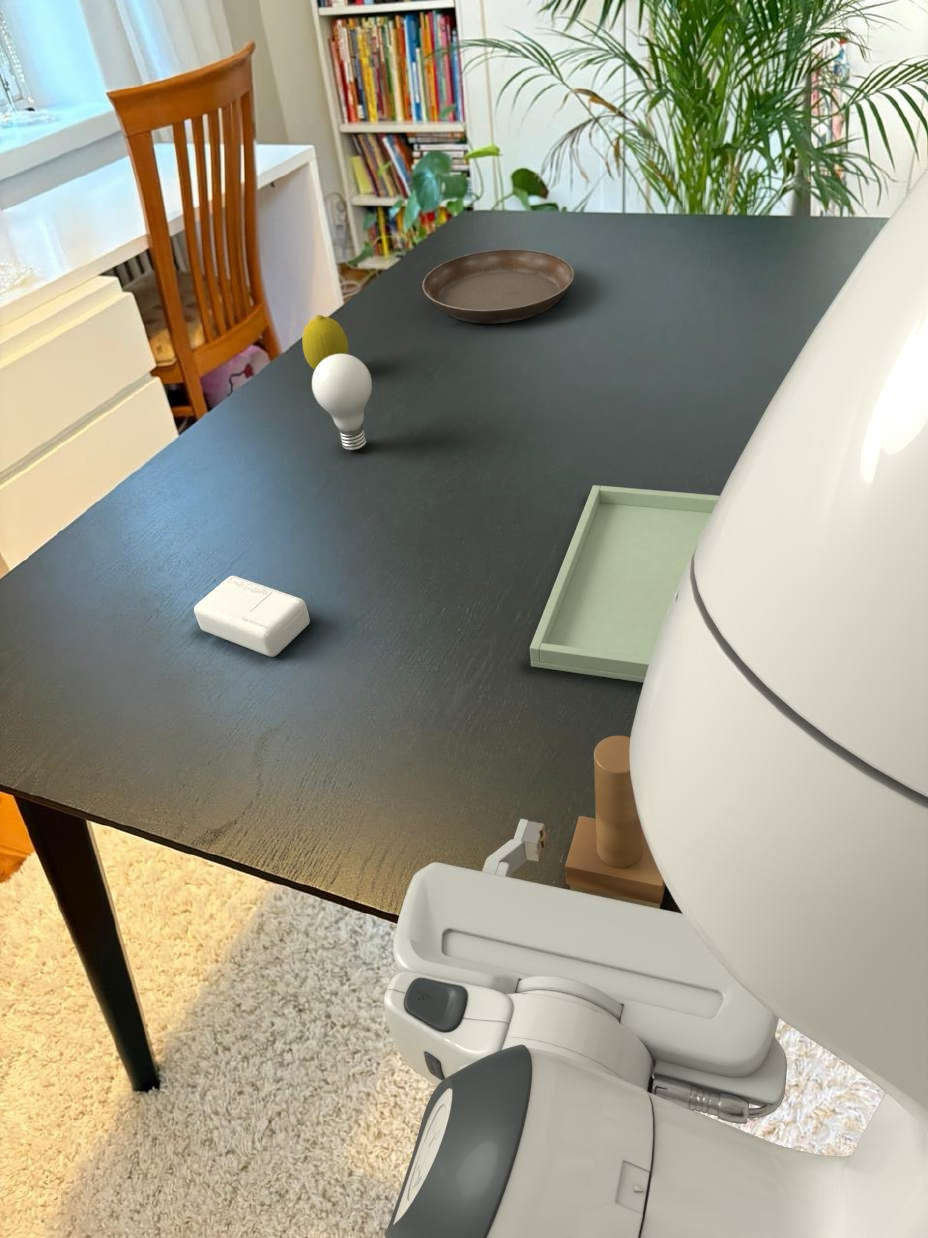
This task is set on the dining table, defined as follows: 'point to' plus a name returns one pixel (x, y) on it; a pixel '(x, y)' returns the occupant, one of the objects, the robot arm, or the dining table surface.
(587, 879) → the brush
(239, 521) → the dining table surface
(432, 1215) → the robot arm
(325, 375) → the lightbulb
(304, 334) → the lemon
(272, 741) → the dining table surface
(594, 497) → the tray
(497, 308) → the plant saucer
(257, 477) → the dining table surface
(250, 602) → the soap
